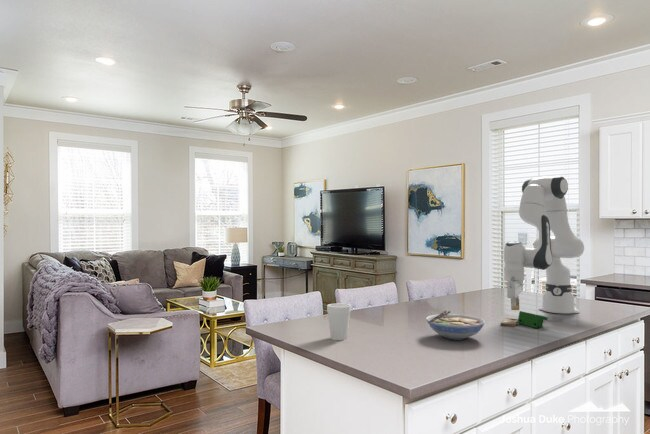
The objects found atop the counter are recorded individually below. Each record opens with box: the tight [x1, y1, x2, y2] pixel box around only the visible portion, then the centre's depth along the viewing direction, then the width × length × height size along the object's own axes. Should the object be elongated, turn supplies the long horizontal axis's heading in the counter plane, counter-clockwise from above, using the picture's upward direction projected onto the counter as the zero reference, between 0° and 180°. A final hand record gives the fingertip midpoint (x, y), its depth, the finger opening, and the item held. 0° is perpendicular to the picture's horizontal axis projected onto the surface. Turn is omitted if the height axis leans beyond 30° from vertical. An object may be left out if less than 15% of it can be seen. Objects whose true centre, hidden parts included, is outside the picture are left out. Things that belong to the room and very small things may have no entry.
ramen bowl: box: [425, 310, 486, 341], centre depth 184 cm, size 25×23×8 cm
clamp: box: [517, 310, 548, 329], centre depth 206 cm, size 12×6×9 cm, turn 15°
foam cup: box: [326, 302, 352, 341], centre depth 183 cm, size 10×9×13 cm
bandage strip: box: [500, 317, 519, 328], centre depth 210 cm, size 13×6×1 cm, turn 149°
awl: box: [510, 298, 520, 311], centre depth 219 cm, size 4×4×9 cm
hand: (515, 304), depth 219 cm, fingers closed on awl, 4 cm apart
